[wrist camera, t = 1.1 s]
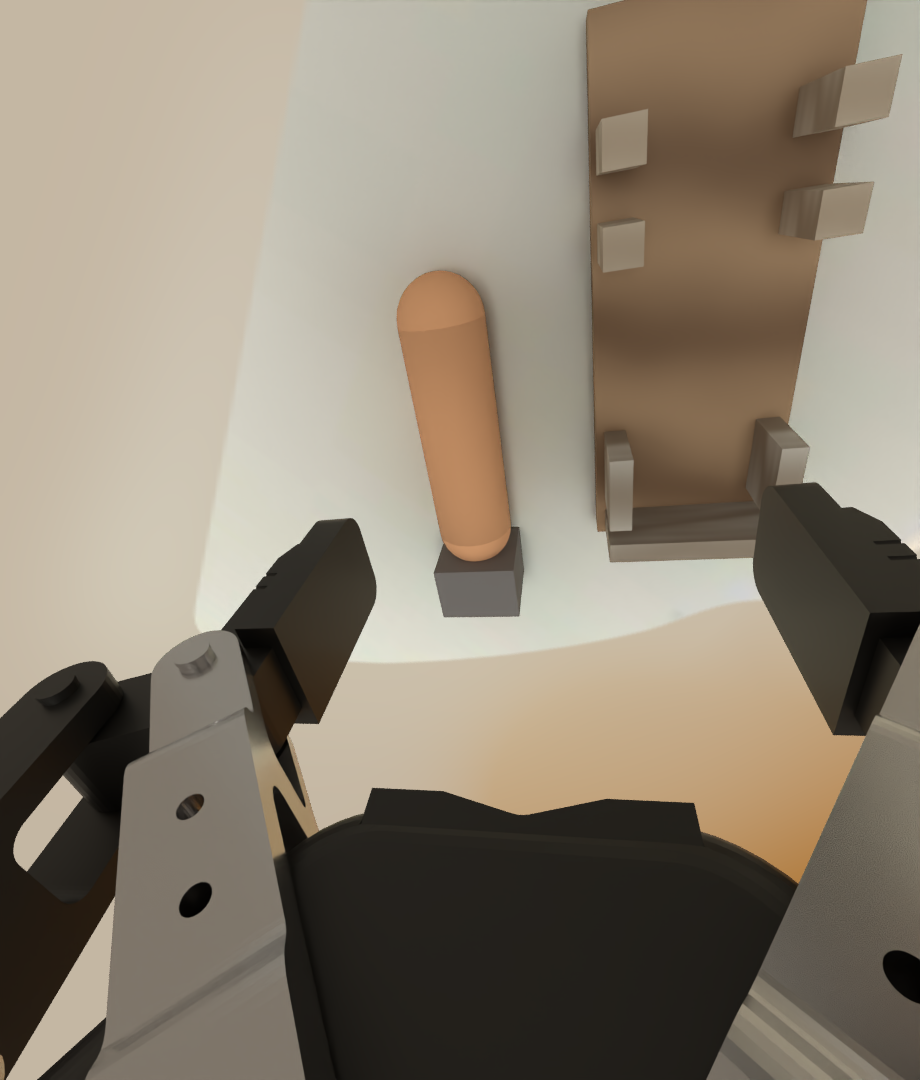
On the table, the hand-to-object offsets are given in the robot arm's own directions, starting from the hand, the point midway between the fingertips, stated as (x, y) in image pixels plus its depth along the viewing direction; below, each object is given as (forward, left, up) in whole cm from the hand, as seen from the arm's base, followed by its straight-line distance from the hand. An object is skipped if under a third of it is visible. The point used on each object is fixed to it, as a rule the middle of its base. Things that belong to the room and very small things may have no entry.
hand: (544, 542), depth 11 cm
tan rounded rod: (+5, -5, -18) cm, 19 cm away
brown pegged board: (-1, +6, -17) cm, 19 cm away
